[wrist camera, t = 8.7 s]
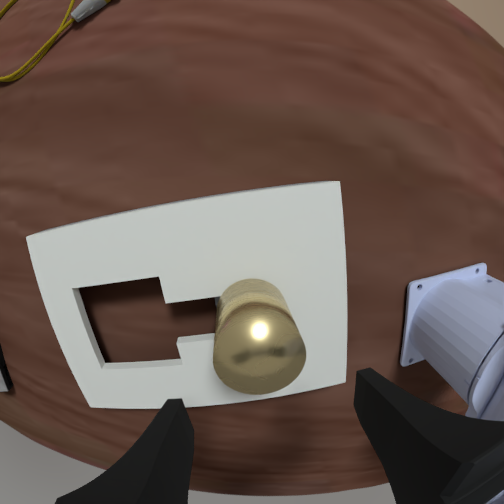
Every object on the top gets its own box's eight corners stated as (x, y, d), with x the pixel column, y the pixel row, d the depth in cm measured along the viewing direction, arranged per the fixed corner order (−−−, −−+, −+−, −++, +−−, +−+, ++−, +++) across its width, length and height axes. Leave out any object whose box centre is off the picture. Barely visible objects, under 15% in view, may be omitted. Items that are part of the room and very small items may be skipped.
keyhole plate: (326, 180, 18) (339, 181, 16) (335, 364, 22) (345, 382, 19) (44, 230, 17) (25, 236, 15) (99, 389, 21) (90, 407, 19)
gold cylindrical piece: (281, 259, 19) (313, 310, 12) (281, 320, 20) (307, 393, 13) (213, 262, 19) (203, 317, 11) (217, 323, 20) (213, 400, 12)
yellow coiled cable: (99, 71, 16) (88, 62, 14) (-29, 93, 14) (-42, 90, 12) (146, -45, 13) (141, -58, 11) (12, -10, 11) (3, -17, 9)
